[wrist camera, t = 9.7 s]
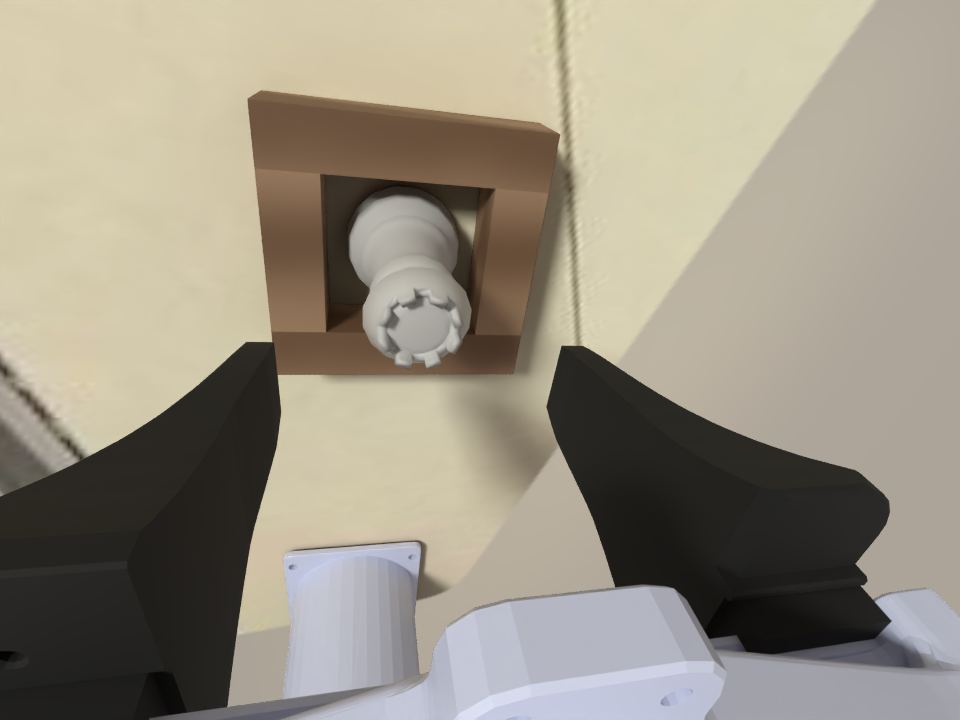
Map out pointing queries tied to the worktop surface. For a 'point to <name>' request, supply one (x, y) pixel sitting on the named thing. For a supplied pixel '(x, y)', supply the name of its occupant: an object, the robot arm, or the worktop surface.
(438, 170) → the walnut docking collar
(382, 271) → the rook chess piece
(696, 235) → the worktop surface
